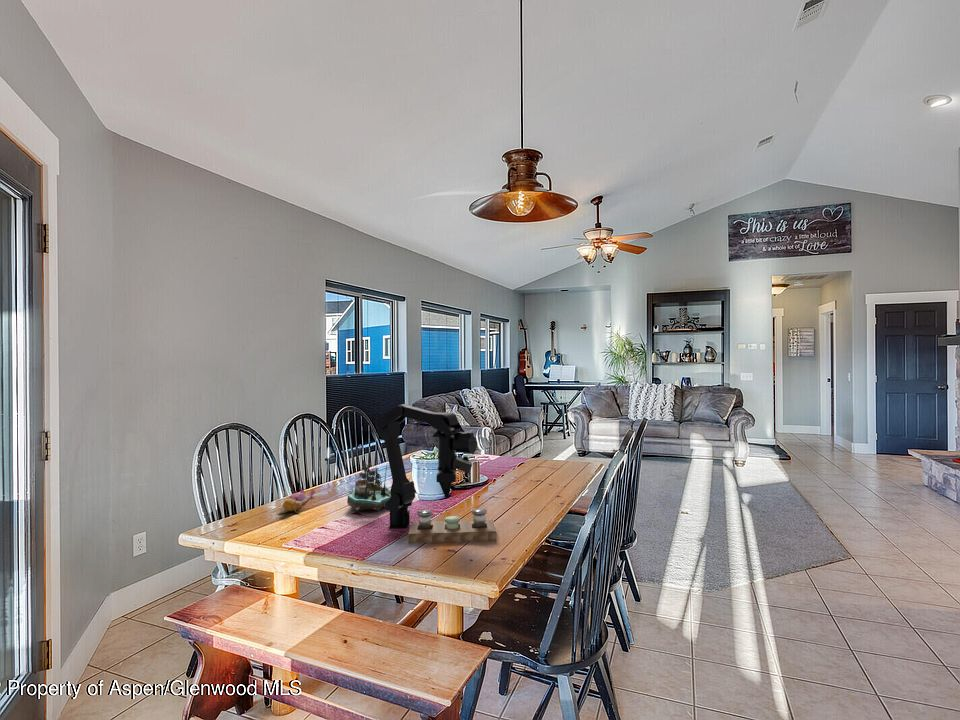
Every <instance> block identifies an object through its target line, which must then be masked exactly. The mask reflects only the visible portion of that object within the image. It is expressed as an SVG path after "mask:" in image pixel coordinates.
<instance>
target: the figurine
mask: <svg viewBox="0 0 960 720" xmlns="http://www.w3.org/2000/svg"><path fill="white" fill-rule="evenodd" d="M315 493H316V491H315V490H314V489H311V490H310V492H309V495H307V494H306V491H304V490H303V489H301V490H300V491H299V492H295V493H292V494H291V495H290V496H289V497H288V496H287V495H286V497H284V498H283V499H282V500H284V502H283V504H282V508H283V511H281V512H280V513H278V514H277V515H282V514H285V513H286V514H287V513H289V512H290V513H292V512H295V513H296V514H297V515H298V514H299V515H300V512H298V511H297V510H299V509H301V508H303V507H305V506H307V504H306V503H305V502H306V501H307V500H312V498H313V496H314V494H315ZM287 498H288V499H287ZM277 515H276V516H277Z"/></svg>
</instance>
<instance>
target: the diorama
mask: <svg viewBox="0 0 960 720" xmlns="http://www.w3.org/2000/svg"><path fill="white" fill-rule="evenodd" d="M370 465H371V463H369V464H364V467H361V471H362V472H360V473H358V476H359V478H358V480H356V481H355V485H354V486H355V488H354V489H353V488H351V491H349V493H348V495H347V499H346V500H347V505H348V506H349V507H351V508H352V509H354V510H356V511H358V512H359V511H361V512H362V511H371V510H372V511H378V512H379V511H380V510H381V509H383V508H384V507H385V503H386V502H387V501H388V500H389V499H390V498H391V488H389V487H386V478H387V472H385V473H384V475H385V476H384V481H382V480H381V479H382V475H381V474H380V473H379V472H378V471H379V468H375V470H371V469H370ZM387 467H388V464H386V466H385V471H388V470H387ZM383 482H384V483H383ZM382 483H383V485H382ZM385 508H386V507H385Z"/></svg>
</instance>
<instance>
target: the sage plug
mask: <svg viewBox="0 0 960 720" xmlns="http://www.w3.org/2000/svg"><path fill="white" fill-rule="evenodd" d="M444 521H445V522H446V529H458V522H459V521H461V518H460V516H456V515H450V516H446V517H445V518H444Z"/></svg>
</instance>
